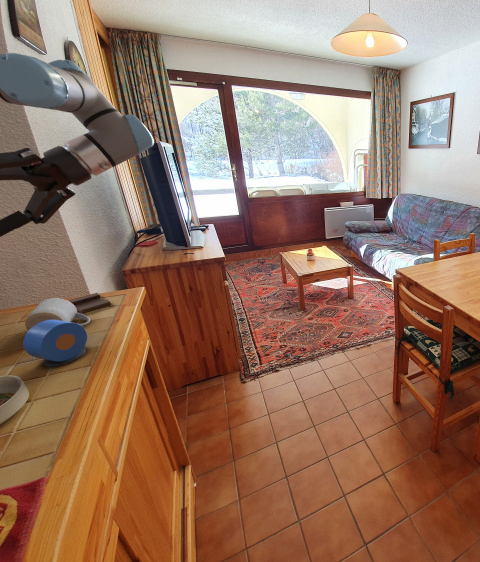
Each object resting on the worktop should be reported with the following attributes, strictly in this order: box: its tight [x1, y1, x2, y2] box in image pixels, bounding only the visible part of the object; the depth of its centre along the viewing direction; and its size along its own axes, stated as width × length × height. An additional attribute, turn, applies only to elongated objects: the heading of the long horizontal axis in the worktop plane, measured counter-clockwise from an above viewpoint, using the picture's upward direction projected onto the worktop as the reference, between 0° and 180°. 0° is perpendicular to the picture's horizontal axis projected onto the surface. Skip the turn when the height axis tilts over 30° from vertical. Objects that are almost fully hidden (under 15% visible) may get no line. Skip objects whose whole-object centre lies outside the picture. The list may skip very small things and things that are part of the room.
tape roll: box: [22, 320, 88, 362], centre depth 67 cm, size 5×8×8 cm, turn 167°
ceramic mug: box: [25, 297, 91, 332], centre depth 79 cm, size 11×8×8 cm
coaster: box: [43, 347, 86, 368], centre depth 69 cm, size 7×7×1 cm
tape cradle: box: [68, 292, 112, 314], centre depth 91 cm, size 11×7×2 cm, turn 56°
